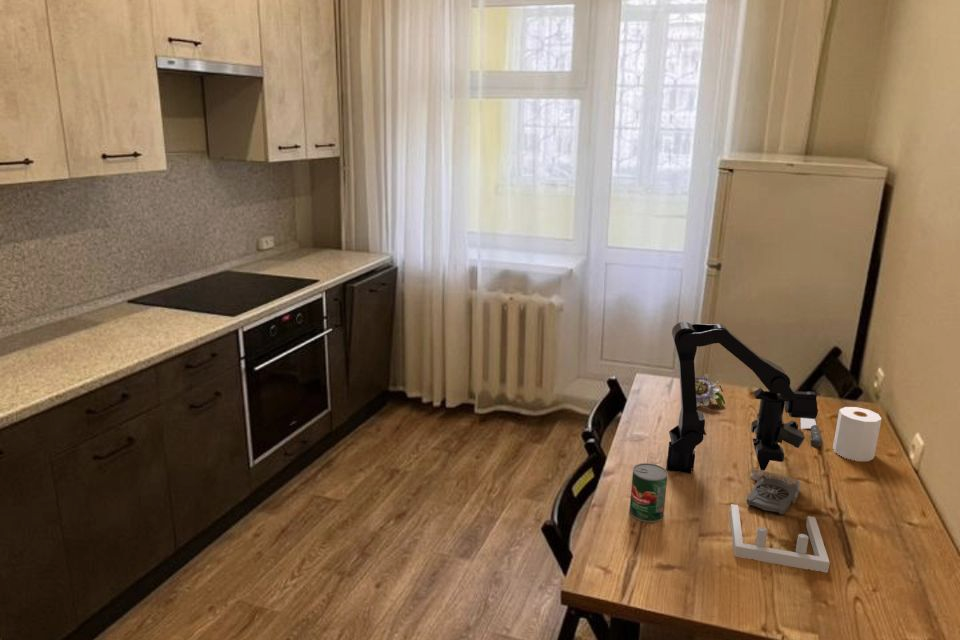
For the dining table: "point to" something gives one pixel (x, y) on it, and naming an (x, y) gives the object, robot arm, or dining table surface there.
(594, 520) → the dining table surface
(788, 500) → the graphics card
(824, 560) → the u-shaped peg rack
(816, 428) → the kitchen knife
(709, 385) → the passion flower
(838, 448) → the toilet paper
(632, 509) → the canned tomato
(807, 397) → the robot arm
